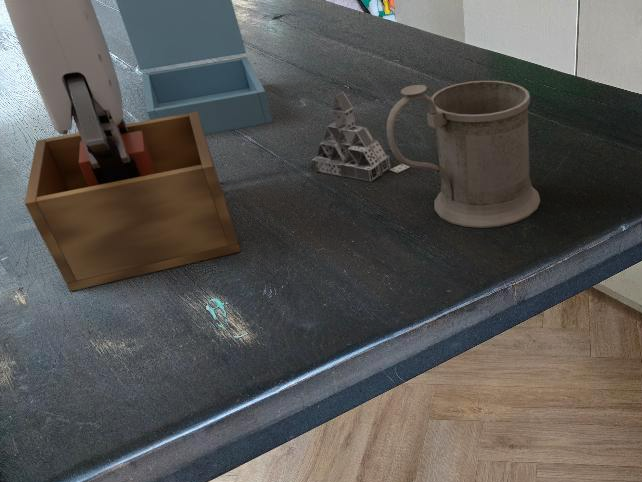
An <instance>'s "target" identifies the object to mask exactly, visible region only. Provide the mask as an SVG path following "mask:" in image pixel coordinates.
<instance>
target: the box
mask: <svg viewBox="0 0 642 482" xmlns="http://www.w3.org/2000/svg"><path fill="white" fill-rule="evenodd" d="M141 79H142V84H143V93H144V102H145V109H146V114H147V117H148V119H149V120H153V119H159V118H165V117H170V116H176V115H182V114H187V113H188V114H189V113H193V112H198V116H199V119H200V122H201V125H202V128H203V131H204V134H205V136H209V135H213V134H219V133H220V134H221V133H225V132H230V131H231V132H232V131H235V130H241V129H247V128H251V127H252V128H253V127H257V126H263V125H268V124H273V123H274V120H273V115H272V112H271V107H270V104H269V101H268V97H267V93H266V90H265V88H264V86H263V84H262V83H261V81H260V79H259V77H258V75H257V73H256V71H255V70H254V68H253V66H252V64H251V61H250V60H249V58H248V57H247V56H245V57H238V58H231V59H225V60H219V61H213V62H207V63H206V62H205V63H201V64H196V65H188V66H182V67H176V68H171V69H170V68H169V69H162V70H157V71H151V72H144V73H141Z"/></svg>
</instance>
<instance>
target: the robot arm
mask: <svg viewBox="0 0 642 482" xmlns="http://www.w3.org/2000/svg"><path fill="white" fill-rule="evenodd" d="M3 1H4V5H5V7H6V10H7V13H8V16H9V19H10V22H11V26H12V29H13V31H14V33H15V36H16V39H17V41H18V43H19V47H20V49H21V52H22V53H23V56H24V59H25V61H26V64H27V66H28V68H29V71H30V72H31V75H32V77H33V81H34V83H35V86H36V88H37V90H38V92H39V95H40V97H41V100H42V102H43V104H44V107H45V109H46V113H47V115H48V118H49V119H50V122H51V124H52V127H53V129H54V131H55V132H56V133H59V134H60V135H61V136H63V135H68V133H69V131H71V130H72V127H73V126H72V125H73V121H74V123H75V126H76V128H77V133H79V134H80V136H81V139H82V141H83V144H84V147H85V149H86V152H87V154H88V157H89V159H90V162H91V164H92V165H91V168H92V170H93V172H94V175H95V177H96V179H97V182H98V184H99V185H101V184H106V183H111V182H116V181H121V180H126V179H131V178H136V177H141V176H140V173H139V170H138V168H137V165H136V163H135V160H134V158H129V155H128V152H127V150H126V147H125V144H124V141H123V139H122V136H121V134H125V133H128V129H127V126H126V124H127V123H126V121H125V118H124V108H123V107H124V106H123V96H122V90H121V87H120V82H119V79H118V75H117V71H116V68H115V65H114V61H113V59H112V55H111V52H110V50H109V47H108V44H107V40H106V38H105V35H104V33H103V32H104V31H103V29H102V27H101V24H100V22H99V21H100V20H99V18H98V16H97V13H96V11H95V8H94V5H93V2H92V0H3ZM108 136H113V138H114V141H113V139H112V138H111V137H108ZM106 137H107V138H106ZM115 144H116V145H115Z"/></svg>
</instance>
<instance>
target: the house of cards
mask: <svg viewBox="0 0 642 482" xmlns="http://www.w3.org/2000/svg"><path fill="white" fill-rule="evenodd" d="M353 109H354V107H353V105H352V103H351V102H350V100H349V98H348V97H347V95H346V93H345V92H344V90H343V91H340V92H339V93H336V94H335V95H334V98H333V101H332V106H331V109H330V111H332V113H333V119H334V122H332V123H331V124H329V125H327V126H326V129H325V134H324V137H323V141H321V142H320V143H319V146H318V150H317V154H316V156H315V157H314V158H312V159H311V161H312V165H313V170H314V173H316V172H317V173H318V172H319V173H324V174H328V175H335V176H338V177H339V176H340V177H341V178H343V177H345V178H346V177H347V178H351V179H356V180H360V181H361V180H362V181H367V182H370V183H371V182H373V181H374V180H376V179H377V178H378V177H380V176H383V175H384V173H385V172H387V170H389V171H392V172H394V173H396V174H399V173H400V172H403V171H405V170H407V169H409V168H410V166H407V165H405V164H403V163H400V164H399V165H396V166H395V167H393V168H391V163H390V162H391V161H390V155H389V154H388V155H387V154H386V152H385V150H384V149H383V147H382V146H381V144H380V142H379V141H378V140H376V139H374V138H373V136H372V135H371V133H370V131H369V130H368V128H367V127H366V126H365V127H363V126H359V125H356V122H355V115H354V112H353V111H354V110H353ZM343 113H344V115H343ZM344 117H345V118H344Z"/></svg>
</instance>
